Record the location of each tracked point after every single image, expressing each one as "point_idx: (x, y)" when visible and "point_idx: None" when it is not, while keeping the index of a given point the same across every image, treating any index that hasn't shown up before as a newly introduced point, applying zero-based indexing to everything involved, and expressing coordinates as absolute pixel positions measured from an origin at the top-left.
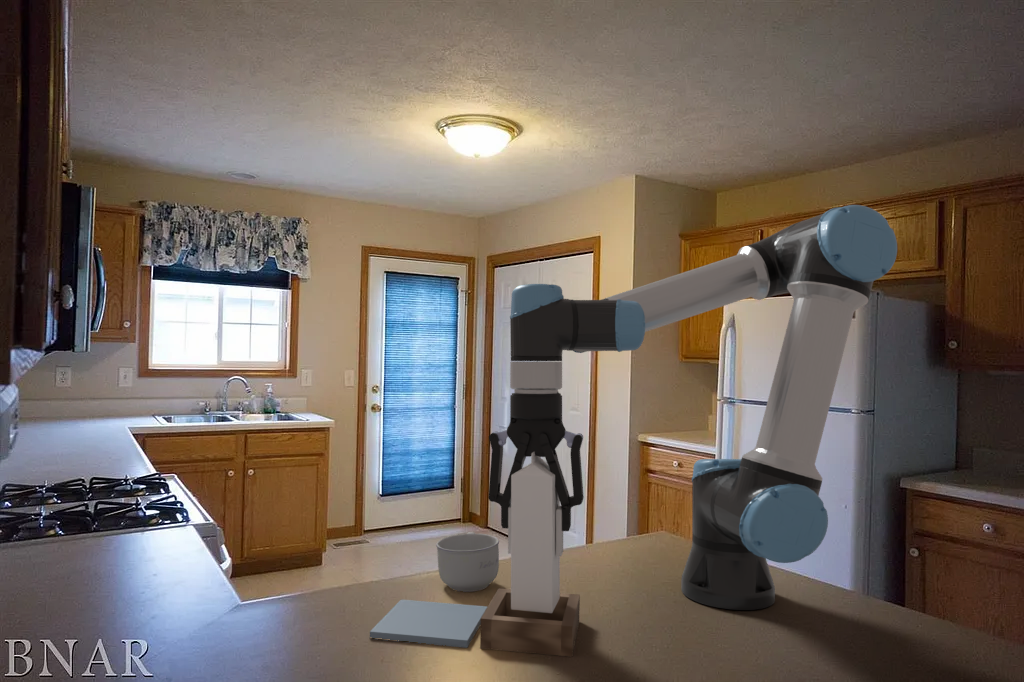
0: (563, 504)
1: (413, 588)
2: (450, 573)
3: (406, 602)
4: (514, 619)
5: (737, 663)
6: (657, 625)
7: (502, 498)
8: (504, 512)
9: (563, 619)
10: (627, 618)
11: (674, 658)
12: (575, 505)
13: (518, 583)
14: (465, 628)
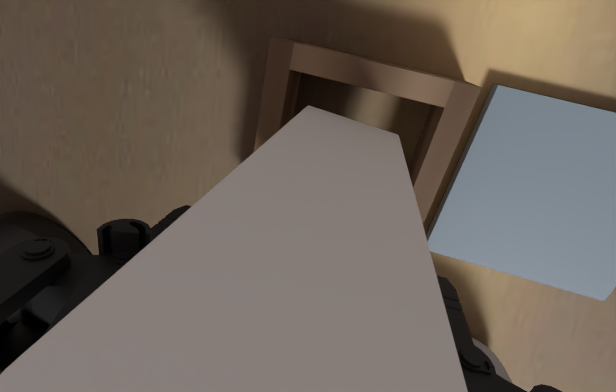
0: (132, 257)
1: (549, 362)
2: (493, 359)
3: (595, 285)
4: (398, 79)
5: (24, 14)
6: (140, 170)
7: (492, 386)
8: (452, 325)
9: (286, 79)
10: (184, 200)
11: (116, 34)
12: (81, 254)
13: (383, 145)
14: (490, 147)
